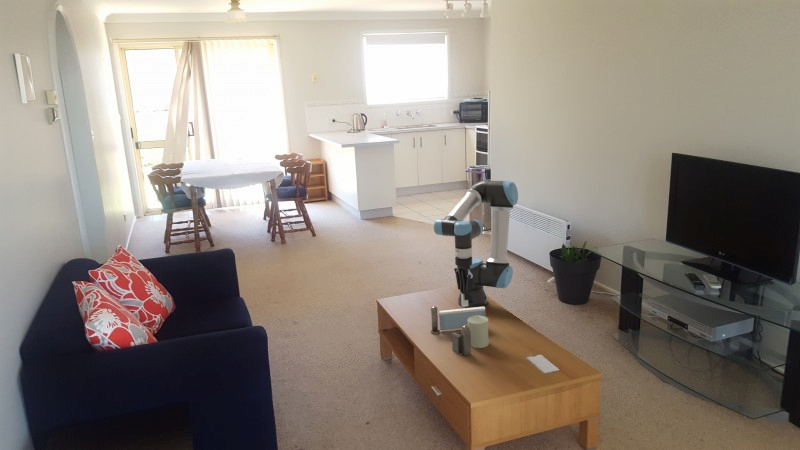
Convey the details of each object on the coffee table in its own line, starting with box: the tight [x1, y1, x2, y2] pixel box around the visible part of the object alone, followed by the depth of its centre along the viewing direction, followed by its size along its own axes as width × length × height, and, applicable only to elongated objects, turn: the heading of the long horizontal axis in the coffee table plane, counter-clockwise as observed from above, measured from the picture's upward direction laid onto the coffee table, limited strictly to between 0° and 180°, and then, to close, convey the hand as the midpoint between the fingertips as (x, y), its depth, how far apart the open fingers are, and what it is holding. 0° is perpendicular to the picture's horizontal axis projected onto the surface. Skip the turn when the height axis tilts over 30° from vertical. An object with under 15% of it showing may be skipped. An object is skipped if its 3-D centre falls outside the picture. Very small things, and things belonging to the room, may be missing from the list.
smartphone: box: [525, 353, 561, 375], centre depth 236 cm, size 7×1×15 cm
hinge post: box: [429, 306, 441, 335], centre depth 270 cm, size 4×4×13 cm
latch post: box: [451, 325, 472, 357], centre depth 249 cm, size 5×8×13 cm, turn 27°
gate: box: [438, 306, 486, 331], centre depth 272 cm, size 22×2×9 cm, turn 97°
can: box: [467, 316, 490, 349], centre depth 256 cm, size 9×9×12 cm
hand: (464, 306), depth 263 cm, fingers closed
